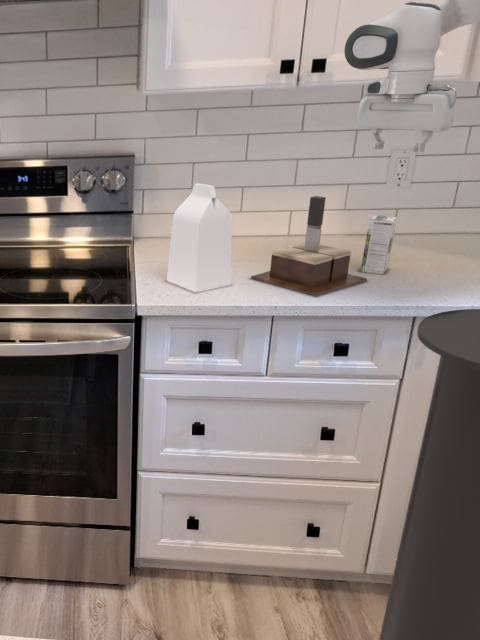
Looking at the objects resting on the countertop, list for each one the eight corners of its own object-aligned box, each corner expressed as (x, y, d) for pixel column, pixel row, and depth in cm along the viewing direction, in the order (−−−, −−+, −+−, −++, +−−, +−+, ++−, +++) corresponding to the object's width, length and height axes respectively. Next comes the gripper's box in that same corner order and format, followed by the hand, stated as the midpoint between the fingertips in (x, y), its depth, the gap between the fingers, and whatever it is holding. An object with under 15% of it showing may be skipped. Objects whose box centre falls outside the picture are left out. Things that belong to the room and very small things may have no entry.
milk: (166, 281, 188) (170, 184, 177) (200, 274, 192) (206, 179, 182) (195, 293, 178) (201, 191, 167) (230, 285, 182) (238, 185, 171)
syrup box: (364, 266, 191) (372, 214, 185) (388, 269, 187) (397, 216, 182) (360, 272, 187) (368, 218, 181) (384, 275, 183) (393, 220, 177)
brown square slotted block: (366, 281, 179) (371, 251, 176) (315, 297, 170) (320, 266, 167) (299, 266, 195) (303, 238, 192) (250, 279, 186) (253, 250, 183)
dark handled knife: (320, 255, 178) (327, 197, 172) (314, 256, 177) (322, 198, 172) (306, 252, 182) (313, 195, 176) (301, 253, 181) (308, 196, 175)
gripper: (466, 83, 144) (453, 152, 150) (374, 84, 160) (364, 145, 166) (449, 85, 141) (436, 155, 147) (357, 85, 157) (348, 148, 163)
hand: (397, 150), depth 156 cm, fingers open, 8 cm apart
